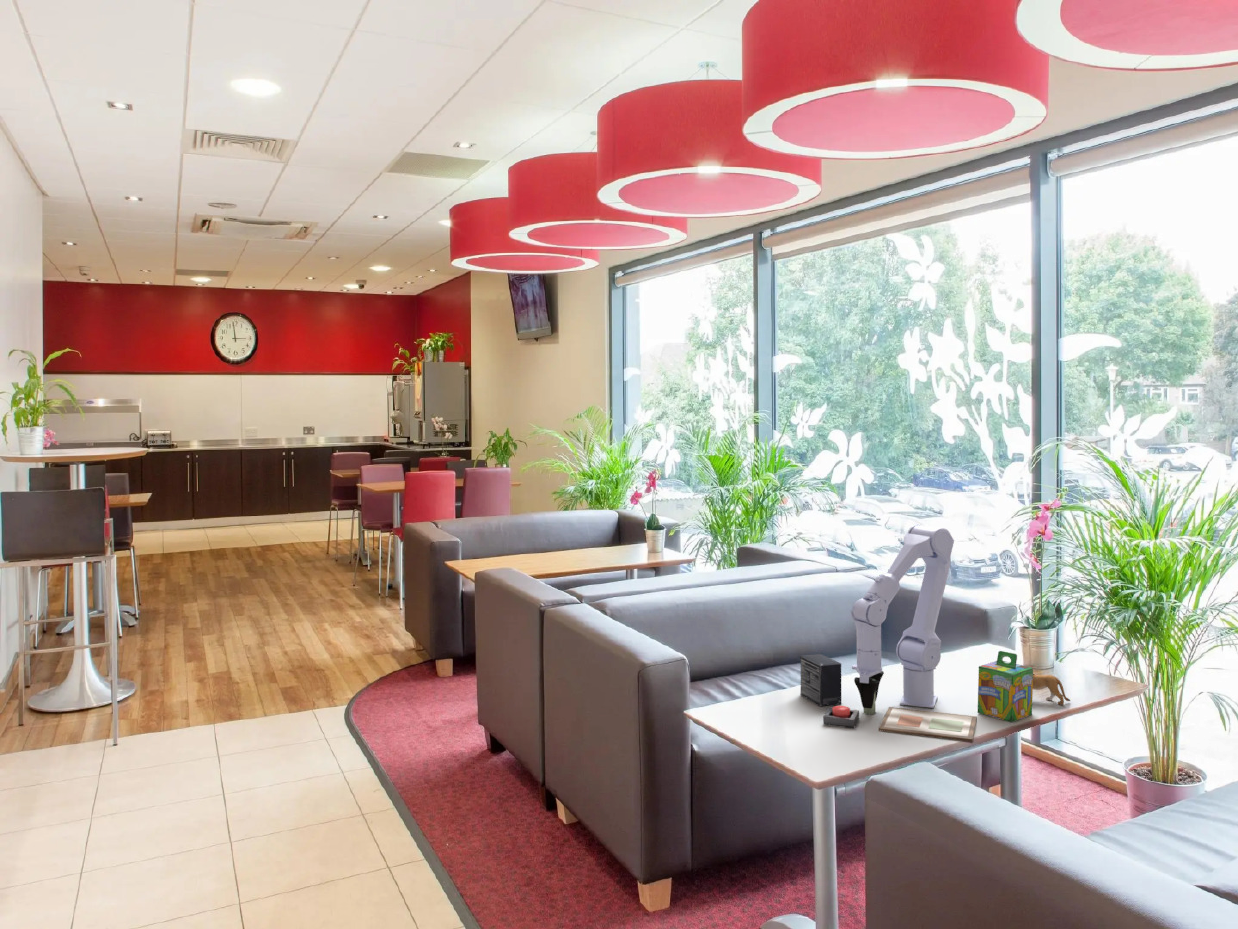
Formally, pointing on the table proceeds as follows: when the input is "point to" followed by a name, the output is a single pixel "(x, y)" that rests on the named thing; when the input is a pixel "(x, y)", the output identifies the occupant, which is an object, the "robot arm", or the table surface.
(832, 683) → the small box
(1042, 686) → the lion figurine
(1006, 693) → the chalk box
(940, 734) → the framed sorting board
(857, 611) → the robot arm
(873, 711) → the sage marker
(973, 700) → the table surface
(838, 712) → the button
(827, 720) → the button housing
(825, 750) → the table surface
